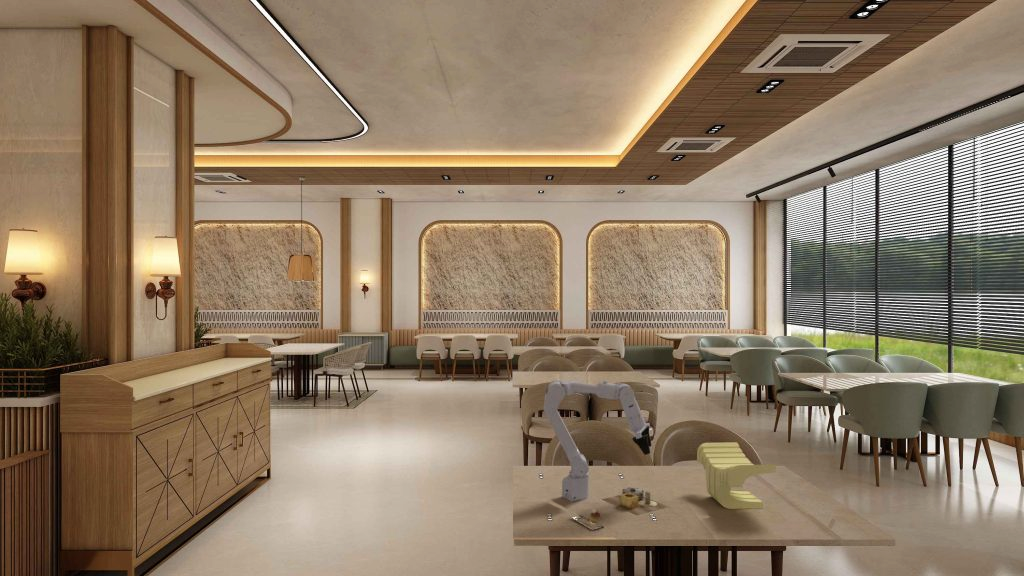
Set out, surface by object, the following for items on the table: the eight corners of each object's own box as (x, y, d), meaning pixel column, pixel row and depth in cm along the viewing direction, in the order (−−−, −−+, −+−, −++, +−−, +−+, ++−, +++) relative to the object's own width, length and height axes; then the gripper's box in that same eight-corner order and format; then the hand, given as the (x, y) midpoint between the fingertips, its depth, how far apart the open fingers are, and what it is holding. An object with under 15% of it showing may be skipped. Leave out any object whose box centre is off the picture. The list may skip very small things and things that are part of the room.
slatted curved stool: (697, 488, 231) (697, 442, 232) (737, 488, 232) (737, 442, 233) (729, 518, 202) (729, 465, 202) (775, 517, 202) (775, 464, 203)
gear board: (636, 518, 201) (636, 503, 201) (601, 502, 216) (601, 488, 216) (668, 509, 209) (668, 495, 209) (632, 494, 224) (632, 481, 224)
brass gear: (628, 509, 207) (628, 499, 207) (619, 504, 211) (619, 494, 211) (639, 506, 209) (639, 496, 209) (629, 502, 214) (629, 492, 214)
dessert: (621, 525, 196) (621, 511, 196) (591, 533, 190) (592, 517, 190) (598, 514, 206) (598, 500, 206) (570, 520, 200) (570, 506, 200)
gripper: (643, 418, 211) (657, 454, 211) (645, 406, 225) (659, 440, 225) (624, 424, 213) (638, 459, 213) (628, 412, 227) (641, 445, 227)
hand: (648, 450), depth 219 cm, fingers open, 7 cm apart
